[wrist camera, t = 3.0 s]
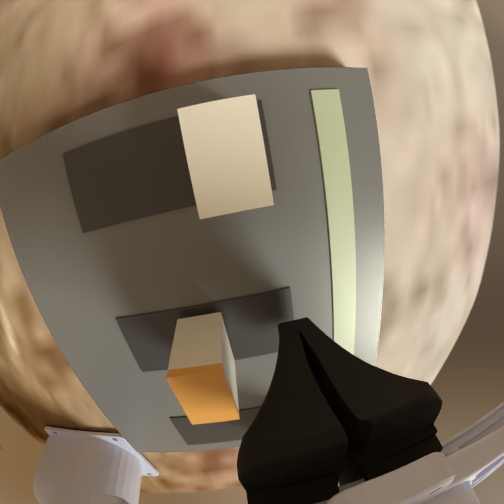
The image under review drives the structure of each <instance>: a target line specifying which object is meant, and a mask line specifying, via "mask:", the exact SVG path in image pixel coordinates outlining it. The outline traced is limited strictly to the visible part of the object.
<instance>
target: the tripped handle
mask: <svg viewBox="0 0 504 504" xmlns="http://www.w3.org/2000/svg"><path fill="white" fill-rule="evenodd" d="M166 378H167V380H168V382H169V384H170V386H171V388H172V390H173V392H174V393H175V395H176V397H177V399H178V401H179V403H180V404H181V406H182V408H183V410H184V412H185V413H186V415H187V417H188V418H189V420H190V422H191V424H192V425H194V424H205V423H214V422H223V421H230V420H237V419H240V416H239V405H238V394H237V383H236V371H235V360H234V357H233V353H232V350H231V346H230V343H229V339H228V336H227V332H226V328H225V325H224V321H223V318H222V314H221V312H217V313H211V314H206V315H200V316H194V317H188V318H182V319H177V324H176V329H175V334H174V339H173V344H172V349H171V355H170V360H169V365H168V371H167V376H166Z"/></svg>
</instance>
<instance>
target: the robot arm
mask: <svg viewBox="0 0 504 504" xmlns="http://www.w3.org/2000/svg"><path fill="white" fill-rule="evenodd" d="M278 333H279V349H278V357H277V362H276V366H275V371H274V375H273V378H272V381H271V384H270V387H269V390H268V392H267V395H266V397H265V400H264V402H263V404H262V406H261V408H260V410H259V412H258V413H257V415H256V417H255V419H254V421H253V422H252V424H251V425H250V427H249V428H248V430H247V431H246V433H245V434H244V435H243V437H242V441H241V445H240V449H239V453H238V459H237V470H238V478H239V481H240V482H241V484H242V486H243V487H244V489H245V490H246V492H247V499H248V504H480V502H479V500H478V498H477V496H476V494H475V493H474V491H473V489H472V487H474V486H475V485H476V484H478V483H479V482H481V481H482V480H483V479H484V478H486V477H487V476H488V475H490V474H491V473H492V472H493V471H495V470H496V469H497V468H498V467H499V466H500V465H502V464H503V463H504V402H503V403H502V404H500V405H499V406H498V407H496V408H495V409H494V410H492V411H491V412H490V413H488V414H487V415H486V416H484V417H483V418H481V419H480V420H478V421H477V422H475V423H474V424H472V425H471V426H469V427H468V428H466V429H465V430H463V431H461V432H460V433H458V434H456V435H455V436H453V437H451V438H450V439H448V440H446V441H444V442H443V443H440V441H439V440H438V438H437V437H436V435H435V434H436V433H437V429H436V428H435V426H434V422H435V420H436V418H437V416H438V414H439V412H440V409H441V406H442V400H441V398H440V397H439V396H438V394H437V393H436V391H435V390H434V389H433V388H432V387H431V386H430V385H429V383H428V382H424V381H419V380H414V379H410V378H406V377H402V376H399V375H396V374H393V373H390V372H387V371H385V370H382V369H380V368H378V367H375V366H373V365H371V364H369V363H367V362H365V361H363V360H361V359H360V358H358V357H356V356H355V355H353V354H351V353H350V352H348V351H347V350H346V349H344V348H343V347H341V346H340V345H339V344H337V343H336V342H335V341H334V340H332V339H331V338H330V337H329V336H327V335H326V334H325V333H324V332H323V331H322V330H321V329H319V328H318V327H317V326H316V325H315V324H314V323H313V322H312V321H311V320H310V319H309V318H308V317H305V318H301V319H297V320H292V321H287V322H283V323H279V325H278ZM45 431H46V432H47V433H48V434H49V436H48V439H47V441H46V444H45V447H44V449H43V452H42V455H41V458H40V460H39V463H38V466H37V469H36V472H35V475H34V481H33V488H34V493H35V496H36V499H37V501H38V502H39V504H138V501H139V492H140V484H141V476H142V475H144V476H158V475H159V472H158V471H157V470H156V469H155V468H154V467H153V466H152V465H151V464H150V463H149V462H148V461H147V460H146V459H145V458H144V457H143V455H142V454H141V453H140V452H136V451H135V450H134V449H133V448H132V446H131V445H130V444H129V443H128V442H127V441H126V440H125V439H124V437H123V436H122V435H121V434H120V433H103V432H90V431H79V430H70V429H62V428H55V427H49V426H46V427H45ZM338 482H339V484H340V486H338Z"/></svg>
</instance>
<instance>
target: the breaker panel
mask: <svg viewBox="0 0 504 504" xmlns="http://www.w3.org/2000/svg"><path fill="white" fill-rule="evenodd" d="M0 206H1V210H2V214H3V217H4V221H5V224H6V228H7V231H8V234H9V237H10V240H11V243H12V246H13V249H14V252H15V255H16V257H17V260H18V263H19V265H20V268H21V271H22V273H23V276H24V278H25V280H26V283H27V285H28V287H29V290H30V292H31V294H32V296H33V299H34V301H35V303H36V305H37V307H38V309H39V311H40V313H41V315H42V317H43V319H44V321H45V323H46V325H47V327H48V329H49V331H50V332H51V334H52V336H53V338H54V340H55V341H56V343H57V345H58V347H59V348H60V350H61V352H62V354H63V355H64V357H65V358H66V360H67V362H68V363H69V365H70V367H71V368H72V370H73V371H74V373H75V374H76V376H77V377H78V379H79V380H80V382H81V383H82V385H83V386H84V388H85V389H86V390H87V392H88V393H89V395H90V396H91V397H92V399H93V400H94V401H95V403H96V404H97V405H98V407H99V408H100V409H101V411H102V412H103V413H104V415H105V416H106V417H107V418H108V420H109V421H110V422H111V423H112V425H113V426H114V427H115V428H116V429H117V430H118V432H119V433H120V434H121V435H122V436H123V437H124V439H125V440H126V441H127V442H128V443H129V444H130V445H131V446H132V448H133V449H134V450H135V451H136V452H187V451H203V450H215V449H225V448H234V447H240V445H241V441H242V437H243V435H244V434H245V433H246V431H247V430H248V428H249V427H250V425H251V424H252V422H253V421H254V419H255V417H256V415H257V413H258V412H259V410H260V408H261V406H262V404H263V402H264V400H265V397H266V395H267V392H268V390H269V387H270V384H271V381H272V378H273V375H274V371H275V366H276V362H277V357H278V349H279V333H278V325H279V323H283V322H287V321H292V320H297V319H301V318H305V317H308V318H309V319H310V320H311V321H312V322H313V323H314V324H315V325H316V326H317V327H318V328H319V329H321V330H322V331H323V332H324V333H325V334H326V335H327V336H329V337H330V338H331V339H332V340H334V341H335V342H336V343H337V344H339V345H340V346H341V347H343V348H344V349H346V350H347V351H348V352H350V353H351V354H353V355H355V356H356V357H358V358H360V359H361V360H363V361H365V362H367V363H369V364H371V365H373V366H375V364H376V357H377V349H378V341H379V332H380V322H381V310H382V297H383V278H384V200H383V182H382V168H381V157H380V147H379V138H378V130H377V122H376V115H375V109H374V102H373V96H372V91H371V85H370V80H369V75H368V70H367V68H352V67H321V68H297V69H283V70H272V71H263V72H254V73H247V74H239V75H233V76H227V77H221V78H215V79H210V80H205V81H200V82H195V83H191V84H186V85H182V86H178V87H174V88H170V89H166V90H162V91H158V92H155V93H151V94H148V95H144V96H141V97H138V98H135V99H131V100H128V101H125V102H122V103H119V104H116V105H114V106H111V107H108V108H105V109H103V110H100V111H97V112H95V113H92V114H90V115H87V116H85V117H82V118H80V119H77V120H75V121H73V122H70V123H68V124H66V125H64V126H61V127H59V128H57V129H55V130H53V131H51V132H49V133H47V134H45V135H43V136H41V137H39V138H37V139H35V140H33V141H31V142H29V143H27V144H25V145H24V146H22V147H20V148H18V149H16V150H15V151H13V152H11V153H9V154H8V155H6V156H4V157H3V158H1V159H0ZM217 312H221V314H222V318H223V321H224V325H225V328H226V332H227V336H228V339H229V343H230V346H231V350H232V353H233V357H234V360H235V371H236V383H237V394H238V405H239V416H240V419H237V420H230V421H223V422H214V423H205V424H194V425H192V424H191V422H190V420H189V418H188V417H187V415H186V413H185V412H184V410H183V408H182V406H181V404H180V403H179V401H178V399H177V397H176V395H175V393H174V392H173V390H172V388H171V386H170V384H169V382H168V380H167V378H166V376H167V371H168V365H169V360H170V355H171V349H172V344H173V339H174V334H175V329H176V324H177V319H182V318H188V317H194V316H200V315H206V314H211V313H217Z"/></svg>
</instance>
